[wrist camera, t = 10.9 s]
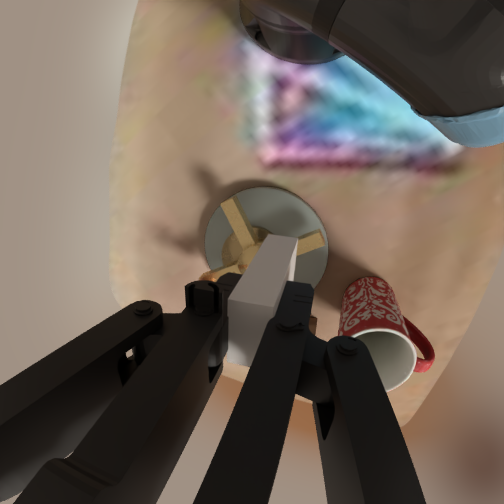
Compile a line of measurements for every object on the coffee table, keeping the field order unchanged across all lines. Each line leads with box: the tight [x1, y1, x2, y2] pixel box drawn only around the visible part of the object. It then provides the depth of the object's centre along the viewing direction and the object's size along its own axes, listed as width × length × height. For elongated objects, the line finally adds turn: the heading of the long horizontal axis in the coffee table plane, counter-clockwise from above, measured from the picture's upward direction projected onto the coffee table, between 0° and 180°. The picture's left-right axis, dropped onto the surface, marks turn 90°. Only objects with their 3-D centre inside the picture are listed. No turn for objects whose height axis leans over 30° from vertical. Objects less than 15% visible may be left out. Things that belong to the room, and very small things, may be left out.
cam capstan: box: [198, 196, 325, 282], centre depth 38 cm, size 16×16×7 cm
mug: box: [338, 277, 435, 392], centre depth 36 cm, size 13×9×14 cm
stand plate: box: [205, 187, 328, 289], centre depth 42 cm, size 16×16×2 cm
